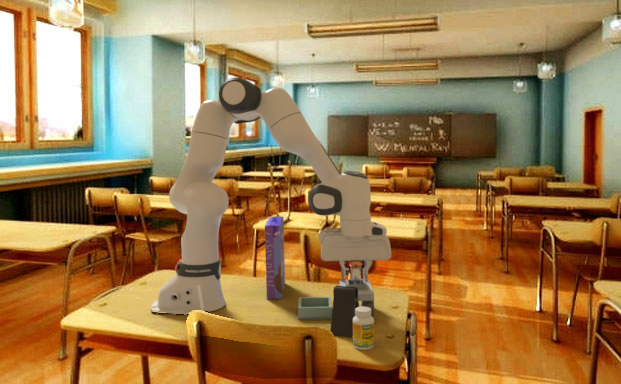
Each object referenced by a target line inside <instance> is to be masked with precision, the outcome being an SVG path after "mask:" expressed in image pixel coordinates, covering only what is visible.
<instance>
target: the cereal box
mask: <svg viewBox="0 0 621 384" xmlns="http://www.w3.org/2000/svg"><path fill="white" fill-rule="evenodd" d="M284 224H285V223H284V216H269V217H268V220H267V221H266V223H265V224H264V240H265V242H264V247H265V279H266V282H265V283H266V285H265V287H266V300H282V299H283V295H284V292H285V291H284V290H285V285H286V272H285V271H286V269H285V268H286V267H285V265H286V264H285V263H286V261H285V235H284V234H285V227H284Z"/></svg>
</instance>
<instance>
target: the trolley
mask: <svg viewBox="0 0 621 384" xmlns="http://www.w3.org/2000/svg"><path fill="white" fill-rule="evenodd" d="M366 266H367V260H364V268H366ZM340 269H341V275H340V276H341V277H340V278H341V280H339V286H346V287H356V288H358V301H359V302H361V307H369V308H371V315H370V316H372V317H373V318H374V319H375V302H374V301H375V292H374V290H373V287H372V285H371V281H370V280H368V276H369V274H368V275H364V278H361V284H351V278H350V279H349V278H348V279H345V276H344V270H343V268H342V267H341V266H340Z"/></svg>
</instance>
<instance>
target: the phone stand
mask: <svg viewBox="0 0 621 384" xmlns="http://www.w3.org/2000/svg"><path fill="white" fill-rule="evenodd" d="M332 294H333V301H332V319H330V320H331V321H330V330H329V332H330V331H331V332H332V333H333V334H334V335H333V336H339V337H346V338H353V318H354V317H355V316H356V315H355V309H356V308H357V307H360V301H358V288H356V287H346V286H340V285H335V286H334V287H333V293H332Z"/></svg>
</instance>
